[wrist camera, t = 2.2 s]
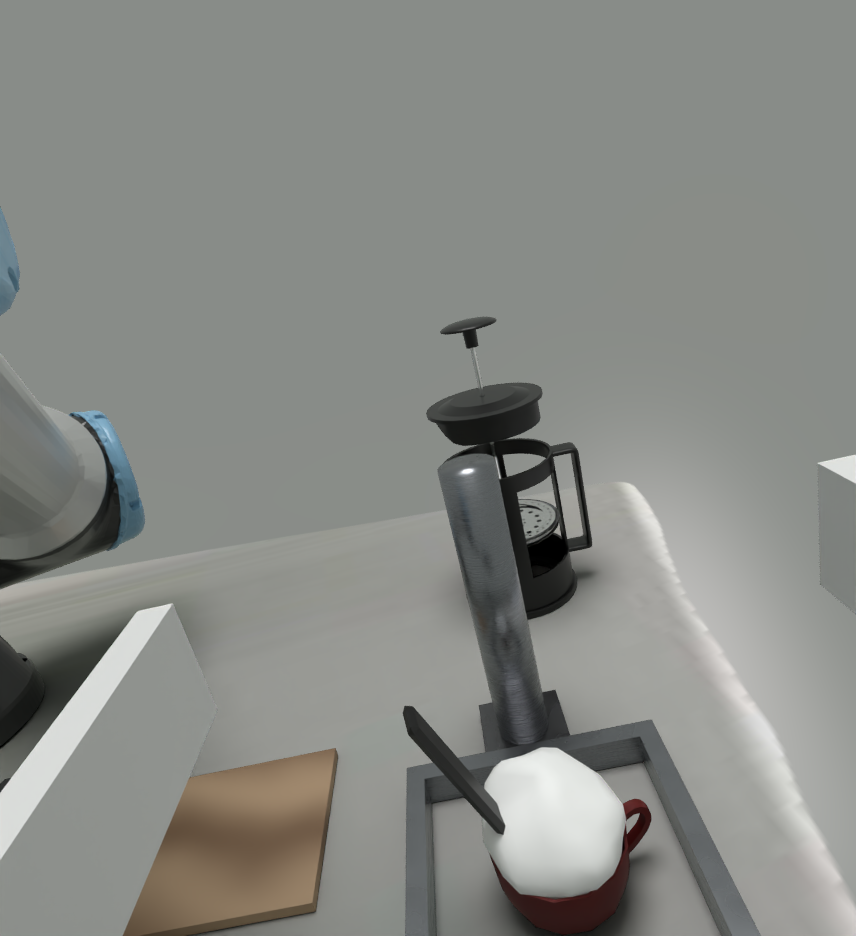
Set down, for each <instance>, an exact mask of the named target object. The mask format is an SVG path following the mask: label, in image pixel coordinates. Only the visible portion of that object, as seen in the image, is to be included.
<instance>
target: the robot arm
mask: <svg viewBox="0 0 856 936" xmlns="http://www.w3.org/2000/svg"><path fill="white" fill-rule="evenodd" d="M19 277H20V272H19V266H18V261H17V256H16V252H15V248H14V244H13V241H12V239H11V236H10V232H9V229H8V226H7V223H6V220H5V218H4V215H3V212H2V210H1V208H0V315H2V314H4V313H5V312H6V311H7V310H8V309H10V307H11V305H12V303H13V300H14V298H15V296H16V293H17V292H18V290H19ZM818 506H819V508H818V510H819V552H820V585H821V586H823V588H825V589H826V590H827V591H828V592H830V593H831V594H832V595H833V596H834V597H836V598H837V599H838V600H839V601H840V602H842V603H843V604H844V605H845V606H846V607H848V608H849V609H850V610H851V611H852V612H854V613H855V614H856V455H853V456H848V457H843V458H838V459H834V460H829V461H824V462H820V463H818ZM144 524H145V516H144V510H143V506H142V503H141V500H140V498H139V493H138V488H137V484H136V482H135V478H134V475H133V473H132V470H131V467H130V464H129V462H128V459H127V457H126V454H125V451H124V449H123V447H122V444H121V442H120V440H119V437H118V435H117V433H116V431H115V429H114V427H113V426H112V424H111V423H110V421H109V420H108V418H107V417H106V415H104V414H103V413H101V412H99V411H87V412H73V413H71V414H69V415H66V414H65V413H62V412H61V411H58V410H56V409H53V408H50V407H47V406H42V405H41V404H40V403H39V402H38V401H37V399H36V398H35V397H34V396H33V394H32V393H31V392H30V390H29V389H28V388H27V386H26V385H25V384H24V383H23V381H22V380H21V379H20V377H19V376H18V375H17V374H16V372H15V371H14V370H13V369H12V367H11V366H10V365H9V363H8V362H7V361H6V359H5V358H4V357H3V356H2V354H1V353H0V589H2V588H5V587H8V586H10V585H13V584H16V583H18V582H21V581H24V580H27V579H29V578H32V577H34V576H37V575H40V574H42V573H45V572H48V571H50V570H53V569H56V568H59V567H62V566H64V565H67V564H70V563H72V562H75V561H78V560H81V559H83V558H86V557H89V556H91V555H94V554H97V553H99V552H102V551H105V550H107V551H109V550H112V549H115V548H117V547H118V546H119V544H121V543H124V542H125V541H128V540H130V539H132V538H135V537H136V536H137V535H139V534H140V533H141V531H142V530H143V528H144ZM44 692H45V685H44V682H43V680H42V678H41V676H40V674H39V673H38V671H37V669H36V667H35V665H34V664H33V662H32V661H31V660H30V659H29V658H27V657H26V656H25V655H23V654H20V653H17V652H16V651H15V650H14V649H13V648H12V647H11V646H10V645H9V643H8V642H6V641H5V640H4V639H3V638H2V637H1V636H0V746H1V745H2V744H4V743H5V742H6V741H7V740H8V739H9V738H11V737H12V736H13V735H14V734H15V733H16V732H17V731H18V730H19V729H20V728H21V727H22V726H23V725H24V724H25V723H26V722H27V721H28V719H29V718H30V717H31V716H32V715H33V713H34V712H35V711H36V709H37V708H38V706H39V704H40V702H41V700H42V698H43V695H44ZM217 710H218V709H217V706H216V704H215V702H214V699H213V697H212V695H211V692H210V690H209V687H208V685H207V683H206V680H205V678H204V676H203V673H202V671H201V669H200V666H199V664H198V661H197V659H196V657H195V654H194V652H193V650H192V647H191V645H190V643H189V640H188V638H187V636H186V633H185V631H184V628H183V626H182V624H181V621H180V619H179V617H178V614H177V612H176V610H175V607H174V605H173V603H172V604H168V605H163V606H159V607H154V608H149V609H145V610H140V611H137V612H136V614H135V615H134V616H133V618H132V619H131V620H130V622H129V623H128V624H127V626H126V627H125V628H124V630H123V631H122V632H121V634H120V635H119V636H118V638H117V639H116V640H115V642H114V643H113V644H112V645H111V647H110V648H109V649H108V651H107V652H106V653H105V655H104V656H103V657H102V659H101V660H100V661H99V663H98V664H97V665H96V667H95V668H94V669H93V671H92V672H91V673H90V675H89V676H88V677H87V679H86V680H85V681H84V683H83V684H82V685H81V687H80V688H79V689H78V690H77V692H76V693H75V694H74V696H73V697H72V698H71V700H70V701H69V702H68V704H67V705H66V706H65V708H64V709H63V710H62V712H61V713H60V714H59V716H58V717H57V718H56V720H55V721H54V722H53V724H52V725H51V726H50V728H49V729H48V730H47V732H46V733H45V734H44V735H43V737H42V738H41V739H40V741H39V742H38V743H37V745H36V746H35V747H34V749H33V750H32V751H31V753H30V754H29V755H28V757H27V758H26V759H25V761H24V762H23V763H22V765H21V766H20V767H19V769H18V770H17V771H16V773H15V774H14V775H13V777H12V778H9V779H5V780H4V781H3V782H2V783H0V936H123V934H124V931H125V929H126V926H127V924H128V922H129V919H130V917H131V915H132V912H133V910H134V907H135V905H136V903H137V900H138V898H139V896H140V893H141V891H142V888H143V886H144V884H145V881H146V879H147V877H148V874H149V872H150V869H151V867H152V865H153V862H154V860H155V858H156V855H157V853H158V850H159V848H160V846H161V843H162V841H163V839H164V836H165V834H166V831H167V829H168V827H169V824H170V822H171V820H172V817H173V815H174V812H175V810H176V808H177V805H178V803H179V801H180V798H181V796H182V793H183V791H184V789H185V786H186V784H187V782H188V779H189V777H190V775H191V772H192V770H193V767H194V765H195V763H196V760H197V758H198V756H199V753H200V751H201V748H202V746H203V744H204V741H205V739H206V737H207V734H208V732H209V729H210V727H211V725H212V722H213V720H214V718H215V715H216V713H217Z"/></svg>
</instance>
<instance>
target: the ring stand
mask: <svg viewBox="0 0 856 936" xmlns="http://www.w3.org/2000/svg"><path fill="white" fill-rule="evenodd" d="M438 475H439V480H440V484H441V488H442V492H443V496H444V501H445V505H446V509H447V513H448V517H449V522H450V526H451V530H452V534H453V538H454V543H455V547H456V551H457V555H458V559H459V564H460V568H461V572H462V576H463V580H464V585H465V589H466V593H467V597H468V602H469V606H470V610H471V614H472V618H473V623H474V627H475V631H476V635H477V639H478V644H479V648H480V652H481V656H482V660H483V665H484V669H485V673H486V677H487V681H488V686H489V690H490V694H491V698H492V702H493V703H488V704H483V705H479V710H480V716H481V723H482V730H483V737H484V744H485V751H486V752H485V753H480V754H475V755H470V756H465V757H460V758H458V759H459V760H460V761H461V762H462V764H463V765H464V766H465V767H466V768H467V769H468V770H469V772H470V773H471V774H472V775H473V776H474V777H475V778H476V780H477V781H478V782H479V783H480V784H481V785H482V787H483V788H484V785H485V782H486V780H487V778H488V777H489V775H490V773H491V771H492V770H493V768H494V767H495V766H496V765H497V764H499V763H500V762H501V761H503V760H507V759H510V758H514V757H518V756H522V755H525V754H527V753H529V752H532V751H534V750H536V749H539V748H541V747H547V748H558V749H560V750H561V751H563V752H565V753H566V754H568V755H570V756H571V757H573V758H574V759H576V760H578V761H579V762H581V763H582V764H584V765H586V766H587V767H589V768H590V769H592V770H593V771H597V770H603V769H608V768H613V767H618V766H623V765H628V764H633V763H638V762H644V764H645V766H646V768H647V770H648V773H649V775H650V777H651V779H652V782H653V784H654V786H655V788H656V791H657V793H658V795H659V797H660V799H661V802H662V804H663V806H664V808H665V811H666V813H667V815H668V817H669V820H670V822H671V824H672V826H673V828H674V831H675V833H676V835H677V837H678V840H679V842H680V844H681V846H682V849H683V851H684V853H685V855H686V857H687V860H688V862H689V864H690V866H691V869H692V871H693V873H694V875H695V877H696V880H697V882H698V884H699V886H700V889H701V891H702V893H703V895H704V898H705V900H706V902H707V904H708V906H709V909H710V911H711V913H712V915H713V918H714V920H715V922H716V924H717V927H718V929H719V931H720V933H721V935H722V936H761V935H760V933H759V931H758V929H757V927H756V925H755V923H754V921H753V919H752V917H751V915H750V913H749V911H748V909H747V907H746V905H745V903H744V901H743V900H742V898H741V896H740V894H739V892H738V890H737V888H736V886H735V884H734V882H733V880H732V878H731V876H730V874H729V872H728V870H727V868H726V866H725V864H724V862H723V860H722V858H721V856H720V854H719V852H718V850H717V848H716V846H715V844H714V842H713V840H712V838H711V836H710V834H709V832H708V830H707V828H706V826H705V824H704V822H703V820H702V818H701V816H700V814H699V812H698V810H697V808H696V806H695V805H694V803H693V801H692V799H691V797H690V795H689V793H688V791H687V789H686V787H685V785H684V783H683V781H682V779H681V777H680V775H679V773H678V771H677V769H676V767H675V765H674V763H673V761H672V759H671V757H670V755H669V753H668V751H667V749H666V747H665V745H664V743H663V741H662V739H661V737H660V735H659V733H658V731H657V729H656V727H655V725H654V723H653V721H652V720H646V721H641V722H636V723H631V724H626V725H621V726H616V727H611V728H606V729H601V730H596V731H591V732H586V733H581V734H576V735H571V736H570V734H569V731H568V728H567V725H566V722H565V718H564V715H563V712H562V709H561V706H560V703H559V700H558V697H557V694H556V691H555V690H552V691H547V692H542V689H541V684H540V679H539V675H538V670H537V665H536V660H535V655H534V650H533V645H532V640H531V635H530V630H529V625H528V620H527V616H526V611H525V606H524V601H523V596H522V591H521V586H520V581H519V576H518V571H517V566H516V561H515V556H514V552H513V547H512V542H511V537H510V532H509V527H508V522H507V517H506V512H505V507H504V502H503V497H502V492H501V488H500V483H499V478H498V473H497V468H496V463H495V458H494V457H493V456H491V455H488V454H470V455H464V456H460V457H457V458H454V459H451V460H449V461H447V462H445V463H443V464H442V465H441V466H440V467H439V468H438ZM459 797H464V796H463V795H462V794H461V793H460V792H459V791H458V789H457V788H456V787H455V786H454V785H453V784H452V783H451V782H450V781H449V779H448V778H447V777H446V776H445V775H444V774H443V773H442V772H441V771H440V769H439V768H438V767H437V766H436V765H435V764H434V763H430V764H425V765H420V766H415V767H410V768H407V809H406V928H405V936H436V912H435V885H434V857H433V830H432V803H434V802H439V801H444V800H449V799H454V798H459Z"/></svg>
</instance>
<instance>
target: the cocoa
mask: <svg viewBox="0 0 856 936" xmlns="http://www.w3.org/2000/svg"><path fill="white" fill-rule="evenodd" d="M403 716H404V720H405V724H406V728H407V732H408V735H409V736H410V737H411V738H412V739H413V740H414V742H415V743H416V744H417V745H418V746H419V747H420V748H421V749H422V751H423V752H424V753H425V754H426V755H427V756H428V757H429V758H430V759H431V761H432V762H433V763H434V764H435V765H436V766H437V767H438V768H439V769H440V771H441V772H442V773H443V774H444V775H445V776H446V777H447V778H448V779H449V781H450V782H451V783H452V784H453V785H454V786H455V787H456V788H457V789H458V791H459V792H460V793H461V794H462V795H463V796H464V797H465V798H466V800H467V801H468V802H469V803H470V804H471V805H472V806H473V807H474V808H475V810H476V811H477V812H478V813H479V814H480V815H481V816H482V833H483V842H484V844H485V846H486V848H487V849H488V851H489V854H490V857H491V860H492V863H493V865H494V868H495V871H496V873H497V876H498V878H499V881H500V884H501V886H502V889H503V890H504V892H505V894H506V895H507V897H508V899H509V900H510V901H511V903H512V904H513V905H514V906H515V908H516V909H517V910H519V911H520V912H521V913H522V914H523V915H524V916H525V917H526V918H527V919H528V920H529V921H530V922H532V923H533V924H534V925H535V926H536V927H539V928H542V929H545V930H549V931H552V932H555V933H559V934H562V935H567V934H573V933H579V932H585V931H591V930H593V929H595V928H596V927H597V926H598V925H600V924H601V923H602V922H604V921H605V920H606V919H608V918H609V917H610V916H611V915H613V914H614V913H615V911H616V908H617V906H618V904H619V901H620V899H621V897H622V895H623V892H624V890H625V887H626V883H627V880H628V875H629V868H630V863H629V853H630V852H631V851H632V850H633V849H634V848H635V847H636V845H637V844H638V843H639V842H640V840H641V839H642V838H643V836H644V835H645V833H646V832H647V830H648V828H649V825H650V823H651V813H650V811H649V809H648V807H647V805H646V804H645V803H644V802H643V801H641V800H639V799H632V800H629V801H627V802H625V803H624V804H622V803H621V802H620V800H619V799H618V797H617V796H616V795H615V793H614V792H613V791H612V789H611V788H610V787H609V786H608V784H607V783H606V782H605V781H604V779H603V778H602V777H601V775H599V774H598V773H596V772H595V771H593V770H592V769H590V768H589V767H587V766H586V765H584V764H582V763H581V762H579V761H578V760H576V759H574V758H573V757H571V756H570V755H568V754H566V753H565V752H563V751H561V750H560V749H558V748H547V747H541V748H539V749H536V750H534V751H532V752H529V753H527V754H525V755H522V756H518V757H514V758H510V759H507V760H503V761H501V762H500V763H499V764H497V765H496V766H495V767H494V768H493V770H492V771H491V773H490V775H489V777H488V778H487V780H486V782H485V785H484V788H483V787H482V785H481V784H480V783H479V782H478V781H477V780H476V778H475V777H474V776H473V775H472V774H471V773H470V772H469V770H468V769H467V768H466V767H465V766H464V765H463V764H462V762H461V761H460V760H459V759H458V758H457V757H456V755H455V754H454V753H453V752H452V751H451V750H450V749H449V747H448V746H447V745H446V744H445V743H444V742H443V741H442V739H441V738H440V737H439V736H438V735H437V734H436V732H435V731H434V730H433V729H432V728H431V727H430V726H429V724H428V723H427V722H426V721H425V720H424V719H423V718H422V716H421V715H420V714H419V713H418V712H417V711H416V709H415V708H414V707H413V706H404V711H403ZM637 813H640V815H639V818H638V820H637V822H636V824H635V825H634V827H633V828H632V829H631V830H630V832H629V833H628V834H627V831H626V821H627V819H628V818H630V817H631V816H632V815H634V814H637Z"/></svg>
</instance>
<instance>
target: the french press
mask: <svg viewBox="0 0 856 936" xmlns="http://www.w3.org/2000/svg"><path fill="white" fill-rule="evenodd" d="M495 322H496V319H495V318H492V317H477V318H471V319H466V320H462V321H459V322H455V323H453V324H451V325H448V326H447V327H445V328H444V329H442V330H441V331H440V333H441V334H456V333H462V332H463V336H464V340H465V344H466V348H470V350H471V355H472V360H473V365H474V370H475V374H476V379H477V384H478V388H476V389H471V390H468V391H465V392H461V393H458V394H455V395H452V396H449V397H447V398H445V399H443V400H441V401H439V402H437V403H435V404H434V405H432V406H431V407H430V408H429V409H428V410H427V413H426V414H427V418H428V420H430V421H431V422H435V423H436V424H437V425H438V427H439V428H440V429H441V431H442V432H443V433H444V435H445V436H446V437H448V438H449V439H450V440H451V441H452V442H453V443H455V444H458V445H462V446H468V445H477V446H474V447H470V448H468V449H466V450H463V451H461V452H459V453H457V454H455V455H453V456H452V457H450V458H449V459H447V460H446V461H445V462H447V461H449V460H451V459H454V458H457V457H460V456H464V455H470V454H488V455H491V456H493V457H494V458H495V463H496V468H497V473H498V478H499V483H500V488H501V492H502V497H503V502H504V507H505V512H506V517H507V522H508V527H509V532H510V537H511V542H512V547H513V552H514V556H515V561H516V566H517V571H518V576H519V581H520V586H521V591H522V596H523V601H524V606H525V611H526V616H527V619H530V618H534V617H538V616H542V615H544V614H547V613H549V612H552V611H553V610H555V609H557V608H559V607H561V606H562V605H563V604H564V603H566V602H567V601H568V600H569V599H570V598H571V597H572V595H573V594H574V592H575V590H576V585H577V579H576V575H575V572H574V570H573V569H572V565H571V560H570V554H569V552H572V551H577V550H582V549H586V548H590V547H591V546H592V538H591V531H590V525H589V518H588V512H587V505H586V499H585V492H584V486H583V480H582V473H581V466H580V460H579V453H578V450H577V448H576V447H575V446H574V445H573V443H570V442H568V443H563V444H559V445H554V446H550V445H549V444H547V443H545V442H543V441H540V440H535V439H522V438H519V439H518V438H517V439H507V438H510V437H513V436H516V435H518V434H521V433H523V432H525V431H527V430H529V429H531V428H532V427H534V426H535V425H536V424H537V423H538V422H539V421H540V412H539V406H538V400H539V399H540V398H541V397H542V389H541V387H539V386H537V385H535V384H530V383H505V384H497V385H490V386H485V387H483V385H482V380H481V375H480V370H479V365H478V360H477V355H476V350H475V347H477V346H478V341H477V335H476V329H479V328H482V327H485V326H488V325H491V324H493V323H495ZM504 439H505V440H504ZM479 444H480V445H479ZM517 453H524V454H535V455H540V456H543V457H545V458H546V459H545V460H544V461H543V462H541V463H540V464H539V465H537V466H535V467H533V468H531V469H529V470H527V471H524V472H522V473H519V474H516V475H513V476H509V477H507V475H506V470H505V466H504V460H503V455H505V454H517ZM568 453H571V458H572V465H573V471H574V477H575V483H576V490H577V496H578V503H579V509H580V515H581V521H582V528H583V536H580V537H575V538H570V539H567V536H566V530H565V524H564V518H563V512H562V506H561V500H560V494H559V489H558V483H557V477H556V471H555V466H554V459H553V457H554V456H559V455H563V454H568ZM445 462H444V463H445ZM550 475H551V478H552V484H553V490H554V495H555V501H556V507H557V508H556V507H554V506H553V505H552V504H549V503H547V502H544V501H539V500H532V499H518V497H517V492H519V491H522V490H525V489H528V488H530V487H532V486H535V485H536V484H538V483H540V482H542V481H543V480H545V479H546V478H547V477H548V476H550ZM558 523H559V524H560V530H561V536H562V537H561V536H560V535H558V534H556V533H553V532H554V531H555V529H556V528H557V526H558ZM531 564H539V565H544V566H547V567H550V568H552V569H551V570H549V571H547V572H545V573H543V574H541V575H538V576H535V577H533V574H532V569H531ZM466 595H467V594H466ZM467 599H468V597H467Z"/></svg>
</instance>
